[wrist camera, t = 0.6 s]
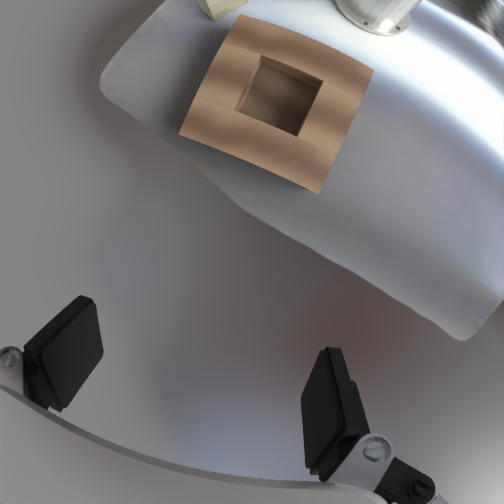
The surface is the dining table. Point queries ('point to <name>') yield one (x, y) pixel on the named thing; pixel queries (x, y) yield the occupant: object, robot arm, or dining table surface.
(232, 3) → the skincare box
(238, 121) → the socket block
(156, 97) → the dining table surface
